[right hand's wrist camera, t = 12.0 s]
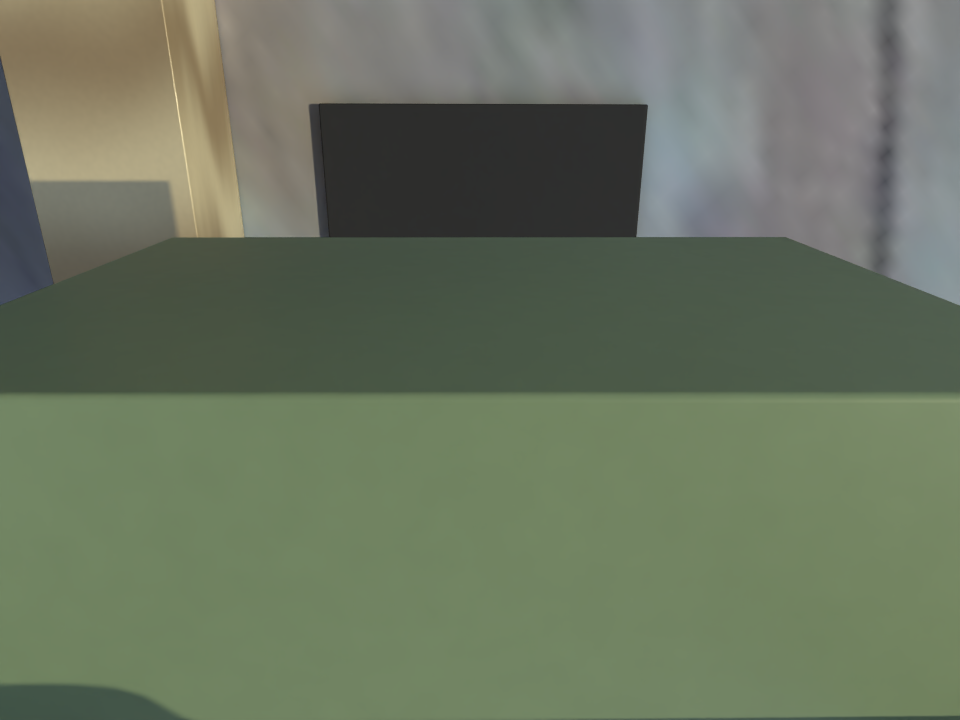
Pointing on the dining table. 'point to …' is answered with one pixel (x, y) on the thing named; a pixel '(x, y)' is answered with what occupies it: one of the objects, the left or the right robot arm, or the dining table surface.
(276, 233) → the dining table surface
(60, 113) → the birch plank
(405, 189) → the rubber mat
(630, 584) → the sage block
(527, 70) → the dining table surface
